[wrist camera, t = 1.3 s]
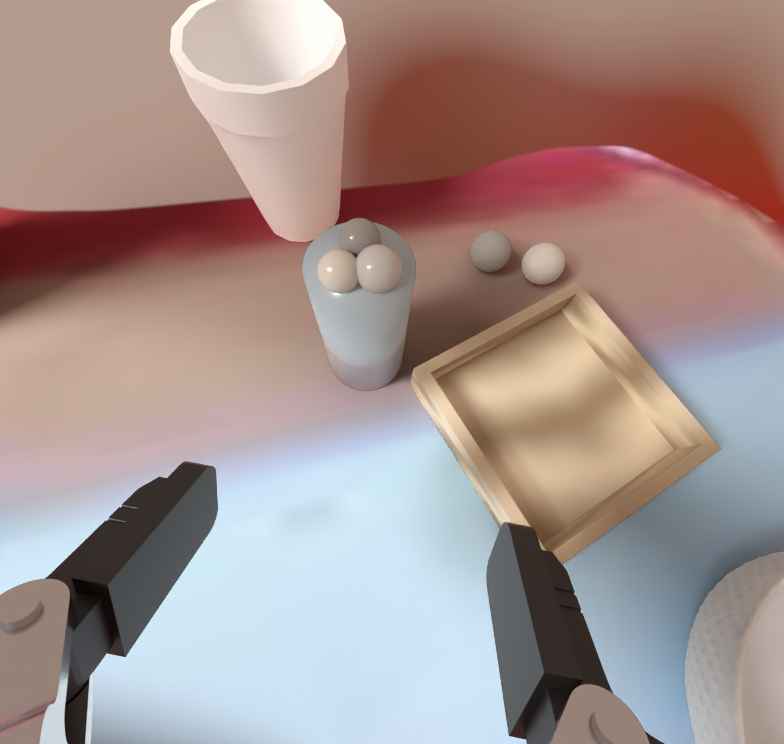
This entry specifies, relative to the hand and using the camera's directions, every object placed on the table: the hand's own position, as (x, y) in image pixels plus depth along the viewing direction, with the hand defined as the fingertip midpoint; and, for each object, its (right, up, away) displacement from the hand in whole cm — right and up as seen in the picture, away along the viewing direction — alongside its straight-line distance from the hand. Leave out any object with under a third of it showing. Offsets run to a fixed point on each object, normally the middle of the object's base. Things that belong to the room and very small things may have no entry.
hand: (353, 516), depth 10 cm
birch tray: (+12, +1, +17) cm, 20 cm away
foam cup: (-7, +18, +22) cm, 29 cm away
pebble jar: (-1, +5, +18) cm, 19 cm away
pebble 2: (+13, +12, +21) cm, 27 cm away
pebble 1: (+9, +13, +21) cm, 26 cm away
